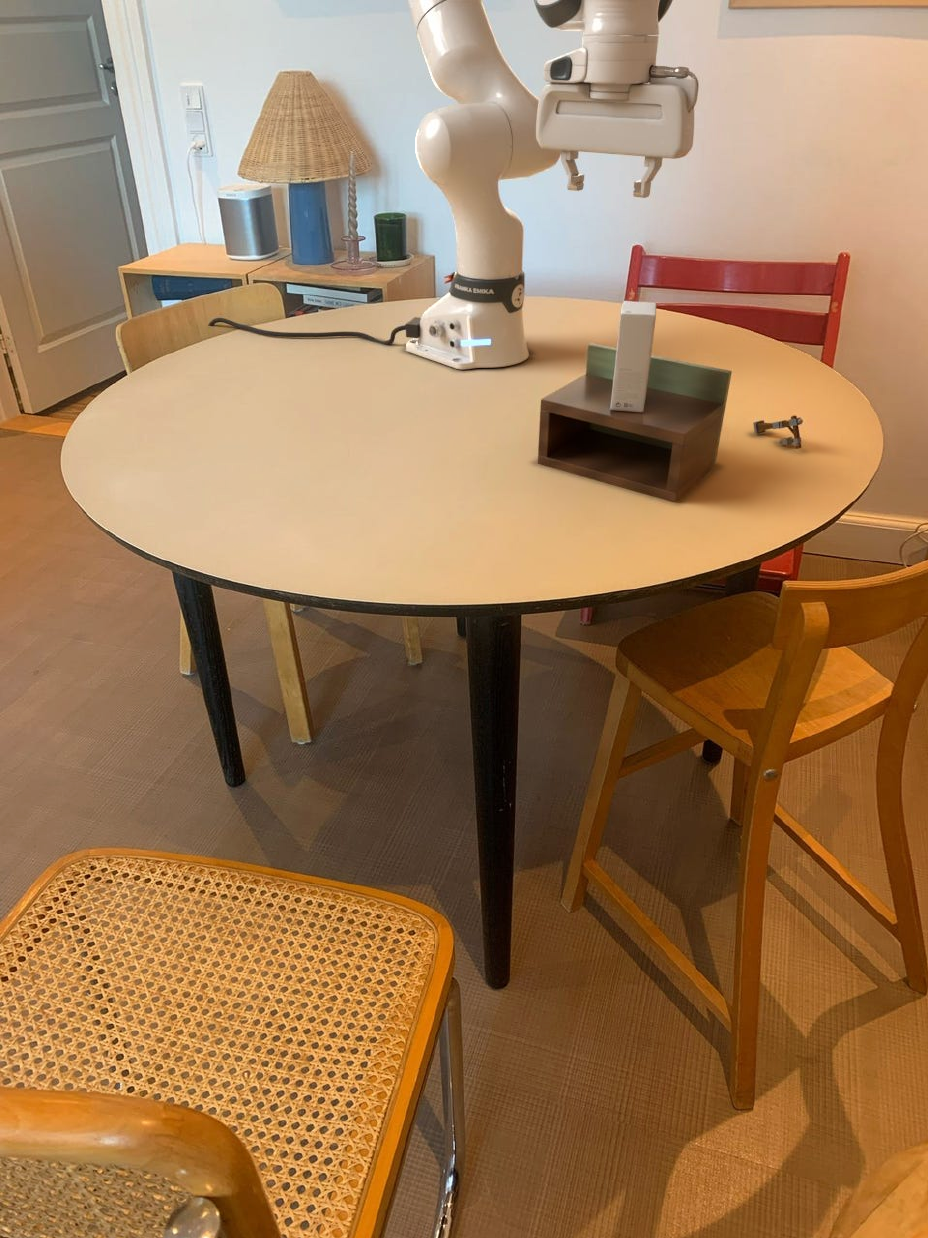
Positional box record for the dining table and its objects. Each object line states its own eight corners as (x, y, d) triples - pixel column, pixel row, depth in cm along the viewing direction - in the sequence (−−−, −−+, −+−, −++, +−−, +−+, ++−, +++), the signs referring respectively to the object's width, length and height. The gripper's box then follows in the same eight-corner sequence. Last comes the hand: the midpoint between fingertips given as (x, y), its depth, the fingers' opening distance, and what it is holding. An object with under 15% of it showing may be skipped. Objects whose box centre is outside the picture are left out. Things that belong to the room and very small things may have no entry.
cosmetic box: (644, 413, 108) (656, 315, 101) (609, 411, 109) (619, 313, 102) (645, 396, 113) (657, 301, 106) (612, 394, 113) (622, 299, 107)
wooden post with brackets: (800, 449, 119) (796, 415, 117) (756, 452, 126) (753, 420, 125) (809, 446, 119) (806, 413, 118) (765, 449, 126) (762, 418, 125)
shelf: (537, 463, 117) (542, 368, 110) (584, 432, 126) (591, 342, 119) (675, 502, 108) (690, 401, 100) (715, 465, 116) (732, 370, 109)
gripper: (711, 65, 100) (694, 197, 108) (558, 62, 110) (552, 183, 118) (689, 67, 96) (672, 204, 104) (531, 64, 106) (527, 189, 113)
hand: (607, 193), depth 111 cm, fingers open, 8 cm apart
